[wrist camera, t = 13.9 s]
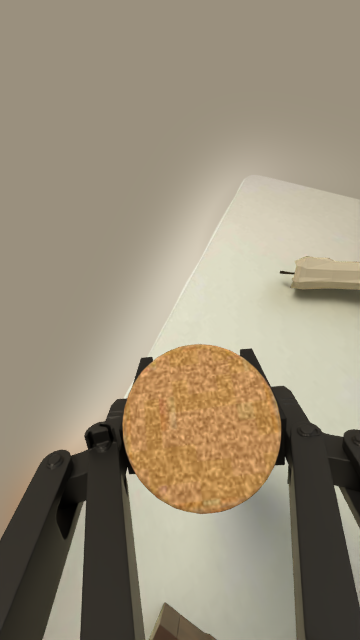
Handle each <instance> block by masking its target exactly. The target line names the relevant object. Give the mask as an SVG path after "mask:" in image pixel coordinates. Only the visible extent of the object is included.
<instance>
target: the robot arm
mask: <svg viewBox="0 0 360 640" xmlns="http://www.w3.org/2000/svg"><path fill="white" fill-rule="evenodd" d="M240 356H241V357H242V358H244V359H245V360H247V361H248V362H249V363H250V364H251V365H252V366H254V367H255V368H256V369H257V370H258V372H259V373H260V374H261V375H262V376H263V378H264V379H265V381H266V382H267V384H268V385H269V387H270V389H271V391H272V393H273V395H274V397H275V400H276V402H277V406H278V410H279V415H280V420H281V443H280V449H279V453H278V456H277V459H276V463H275V465H285V457H286V460H287V462H288V464H289V466H288V484H289V498H290V517H291V537H292V557H293V577H294V597H295V616H296V636H297V640H360V607H359V602H358V597H357V592H356V588H355V583H354V578H353V574H352V569H351V564H350V559H349V555H348V550H347V545H346V540H345V536H344V531H343V526H342V522H341V517H340V512H339V507H338V503H337V498H336V493H335V489H334V485H336V486H339V488H340V490H341V492H342V494H343V496H344V498H345V500H346V502H347V504H348V506H349V508H350V510H351V512H352V514H353V516H354V518H355V520H356V522H357V524H358V526H359V528H360V430H355V429H353V430H348V431H346V432H345V433H344V437H340V436H334V435H329V434H325V433H323V432H322V431H321V429H319V428H318V427H317V426H316V425H314V424H312V423H310V422H309V420H308V418H307V417H306V415H305V413H304V412H303V410H302V409H301V407H300V405H299V404H298V402H297V400H296V399H295V397H294V395H293V394H292V392H291V391H290V390H289V389H287V388H286V387H285V386H276V387H271V386H270V384H269V382H268V380H267V378H266V376H265V374H264V372H263V370H262V368H261V366H260V364H259V362H258V360H257V358H256V356H255V354H254V352H253V350H252V349H241V350H240ZM151 362H153V358H152V357H146V358H141V360H140V363H139V367H138V370H137V373H136V376H135V380H134V383H135V381H136V380H137V378H138V376H139V375H140V374H141V373H142V371H143V370H144V369H145V368H146V367H147V366H148V365H149V364H150V363H151ZM134 383H133V384H134ZM126 401H127V399H117V400H116V401H115V402H114V403H113V404H112V405H111V408H110V410H109V413H108V416H107V419H106V421H105V422H99V423H96V424H94V425H92V426H91V427H90V428H88V430H87V431H86V433H85V440H86V443H87V447H88V450H86V451H84V452H81V453H78V454H75V455H72V456H71V455H70V453H69V452H68V451H66V450H58V451H54V452H53V453H51V454H49V455H48V456H46V457H45V458H44V459H43V461H42V462H41V464H40V465H39V467H38V469H37V471H36V473H35V475H34V477H33V478H32V481H31V482H30V484H29V486H28V488H27V490H26V492H25V494H24V496H23V498H22V500H21V501H20V503H19V505H18V507H17V509H16V511H15V513H14V515H13V517H12V519H11V521H10V523H9V525H8V527H7V528H6V530H5V532H4V534H3V536H2V538H1V540H0V640H42V639H43V636H44V632H45V629H46V626H47V622H48V619H49V615H50V612H51V609H52V605H53V602H54V599H55V595H56V592H57V589H58V585H59V582H60V579H61V575H62V572H63V569H64V565H65V562H66V559H67V555H68V552H69V549H70V545H71V542H72V538H73V535H74V532H75V528H76V525H77V522H78V518H79V515H80V512H81V508H82V505H83V502H84V501H85V500H86V518H85V541H84V564H83V587H82V610H81V632H80V640H145V634H144V625H143V616H142V608H141V599H140V590H139V581H138V572H137V563H136V555H135V546H134V537H133V528H132V519H131V510H130V502H129V493H128V484H127V479H126V471H127V467H128V470H129V474H135V472H134V470H133V468H132V466H131V464H130V461H129V458H128V455H127V453H126V449H125V444H124V440H123V415H124V408H125V405H126Z"/></svg>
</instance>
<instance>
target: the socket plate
mask: <svg viewBox="0 0 360 640" xmlns="http://www.w3.org/2000/svg"><path fill="white" fill-rule="evenodd" d="M149 640H216V639H215V638H214V637H212V636H211V635H210V634H206V633H203V632H202V631H201V630H200V629H198V628H197V627H196V626H194V625H193V624H192V623H191V622H189V621H188V620H187V619H186V618H184V617H183V616H182V615H180V614H179V613H178V612H177V611H176V610H174V609H173V608H172V607H170V606H169V605H168V604H167V603H164V605H163V607H162V610H161V612H160V614H159V617H158V619H157V622H156V624H155V626H154V629H153V631H152V633H151V636H150V638H149Z"/></svg>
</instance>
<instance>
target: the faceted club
mask: <svg viewBox="0 0 360 640" xmlns="http://www.w3.org/2000/svg"><path fill="white" fill-rule="evenodd" d="M295 263H296V270H295V273H291V272H285V271H280V273H281V274H295V275H294V277H293V278H292V280H293V283H292V285H291V287H290V288H298V289H322V288H335V289H356V290H360V262H339V261H334V260H332V259H330V258H314V257H310V256H306V257H303V258H301V259H299V260H296V261H295Z"/></svg>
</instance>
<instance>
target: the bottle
mask: <svg viewBox="0 0 360 640" xmlns="http://www.w3.org/2000/svg"><path fill="white" fill-rule="evenodd" d="M123 440H124V444H125V449H126V453H127V455H128V458H129V461H130V464H131V466H132V468H133V470H134V472H135V474H136V475H137V477H138V478H139V480H140V481H141V482H142V483H143V484H144V486H145V487H146V488H147V489H148V490H149V491H150V492H151V493H152V494H154V495H155V496H156V497H157V498H158V499H160V500H161V501H163V502H165V503H167V504H168V505H170V506H172V507H174V508H176V509H180V510H183V511H187V512H193V513H198V514H207V513H216V512H222V511H226V510H229V509H231V508H233V507H235V506H237V505H239V504H241V503H243V502H244V501H246V500H248V499H249V498H250V497H252V496H253V495H254V494H255V493H256V492H257V491H258V490H259V489H260V488H261V486H262V485H263V484H264V483H265V481H266V480H267V478H268V477H269V475H270V473H271V471H272V470H273V468H274V466H275V463H276V459H277V456H278V453H279V449H280V443H281V420H280V415H279V410H278V406H277V402H276V400H275V397H274V395H273V393H272V391H271V389H270V387H269V385H268V384H267V382H266V381H265V379H264V378H263V376H262V375H261V374H260V373H259V372H258V370H257V369H256V368H255V367H254V366H252V365H251V364H250V363H249V362H248V361H247V360H245V359H244V358H242V357H241V356H239V355H237V354H236V353H234V352H232V351H230V350H227V349H224V348H221V347H218V346H212V345H202V344H197V345H187V346H182V347H178V348H176V349H173V350H171V351H168V352H166V353H164V354H163V355H161V356H159V357H158V358H156V359H155V360H154V361H153V362H151V363H150V364H149V365H148V366H147V367H146V368H145V369H144V370H143V371H142V373H141V374H140V375H139V376H138V378H137V380H136V381H135V383H134V384H133V386H132V389H131V391H130V393H129V395H128V398H127V401H126V405H125V408H124V415H123Z"/></svg>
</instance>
